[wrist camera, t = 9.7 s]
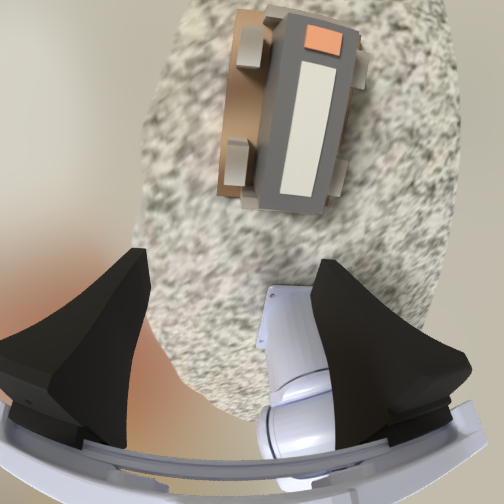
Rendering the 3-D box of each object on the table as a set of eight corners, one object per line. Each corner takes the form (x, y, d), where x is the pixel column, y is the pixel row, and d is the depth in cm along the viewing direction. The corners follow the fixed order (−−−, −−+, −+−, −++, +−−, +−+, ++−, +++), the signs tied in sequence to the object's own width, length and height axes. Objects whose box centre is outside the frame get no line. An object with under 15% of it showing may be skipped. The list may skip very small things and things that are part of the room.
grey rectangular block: (301, 181, 18) (323, 216, 14) (252, 176, 18) (259, 210, 14) (326, 42, 13) (361, 31, 8) (272, 31, 12) (289, 11, 8)
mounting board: (323, 200, 20) (338, 222, 17) (217, 190, 19) (215, 211, 16) (355, 36, 13) (379, 30, 10) (237, 12, 12) (238, -3, 9)
